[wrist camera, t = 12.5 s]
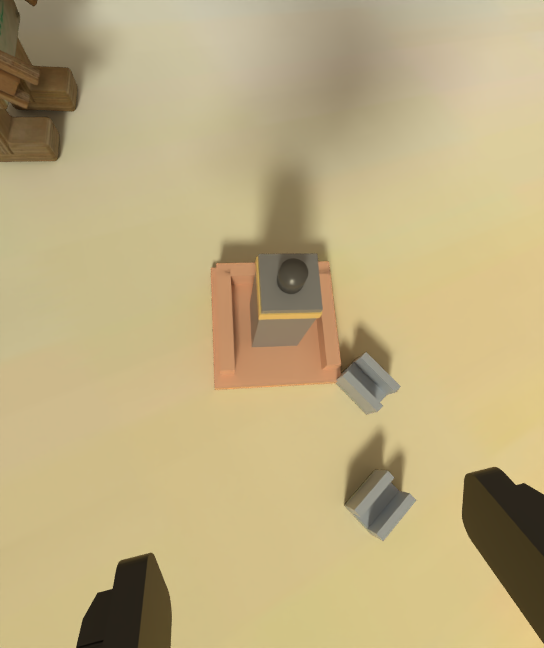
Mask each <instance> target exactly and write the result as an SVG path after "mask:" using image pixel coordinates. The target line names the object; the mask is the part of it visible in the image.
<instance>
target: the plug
mask: <svg viewBox="0 0 544 648" xmlns="http://www.w3.org/2000/svg"><path fill="white" fill-rule="evenodd" d="M255 266H256V271H255V277H254V283H253V288H252V294H251V300H250V320H251V341H252V347H274V346H297V345H298V344H299V342H300V341H301V339H302V338H303V337H304V335H305V334H306V332H307V331H308V330H309V328H310V327H311V325H312V324H313V323H314V321H315V320H316V318H320V316H321V315H322V310H323V306H322V296H321V286H320V276H319V266H318V256H317V254H259V255H258V257H256V262H255Z"/></svg>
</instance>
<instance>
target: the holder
mask: <svg viewBox="0 0 544 648" xmlns="http://www.w3.org/2000/svg"><path fill="white" fill-rule="evenodd" d="M318 266H319V276H320V286H321V296H322V306H323V310H322V315H321V316H320V318H316V320H315V321H314V323H313V324H312V325H311V327H310V328H309V330H308V331H307V332H306V334H305V335H304V337H303V338H302V339H301V341H300V342H299V344H298V345H297V346H274V347H252V341H251V320H250V300H251V294H252V288H253V283H254V277H255V271H256V266H255V263H216V268H211V286H212V319H213V351H214V383H215V390H218V389H236V388H254V387H273V386H291V385H309V384H327V383H337V382H338V381H337V380H336V379H337V378H338V377H339V376H340V375H341V369H340V365H341V359H340V351H339V342H338V334H337V326H336V317H335V309H334V300H333V292H332V284H331V275H330V267H329V261H323V262H318Z"/></svg>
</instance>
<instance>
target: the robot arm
mask: <svg viewBox="0 0 544 648" xmlns="http://www.w3.org/2000/svg"><path fill="white" fill-rule="evenodd" d="M462 519H463V523H464V527H465V529H466V532H467V534H468V536H469V537H470V539H471V541H472V542H473V544H474V545H475V547H476V548H477V549H478V551H479V552H480V554H481V555H482V556H483V558H484V559H485V561H486V562H487V564H488V565H489V566H490V568H491V569H492V571H493V572H494V574H495V575H496V576H497V578H498V579H499V581H500V582H501V584H502V585H503V586H504V588H505V589H506V591H507V592H508V594H509V595H510V596H511V598H512V599H513V601H514V602H515V603H516V605H517V606H518V608H519V609H520V611H521V612H522V613H523V615H524V616H525V618H526V619H527V621H528V622H529V623H530V625H531V626H532V628H533V629H534V631H535V632H536V633H537V635H538V636H539V638H540V639H541V641H542V642H543V643H544V495H543V494H542V493H540V492H538V491H537V490H535V489H533V488H532V487H530V486H528V485H527V484H525V483H523V484H519V485H515V484H514V483H513V482H512V481H511V479H510V478H509V477H508V476H507V475H506V474H505V473H504V472H503V471H502V470H500V469H499V468H497V467H491V468H488V469H484V470H480V471H476V472H472V473H468V474H466V475H465V479H464V492H463V505H462ZM171 624H172V612H171V602H170V596H169V592H168V589H167V586H166V584H165V581H164V579H163V576H162V574H161V571H160V569H159V566H158V564H157V561H156V558H155V556H154V554H153V553H148V554H144V555H140V556H136V557H132V558H128V559H124V560H121V561H120V562H119V563H118V565H117V569H116V574H115V579H114V585H113V589H111V590H107V591H103V592H99V593H97V595H96V597H95V598H94V600H93V602H92V604H91V605H90V607H89V609H88V611H87V613H86V614H85V616H84V618H83V620H82V625H81V629H80V633H79V638H78V642H77V646H76V648H170V646H171Z"/></svg>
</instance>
